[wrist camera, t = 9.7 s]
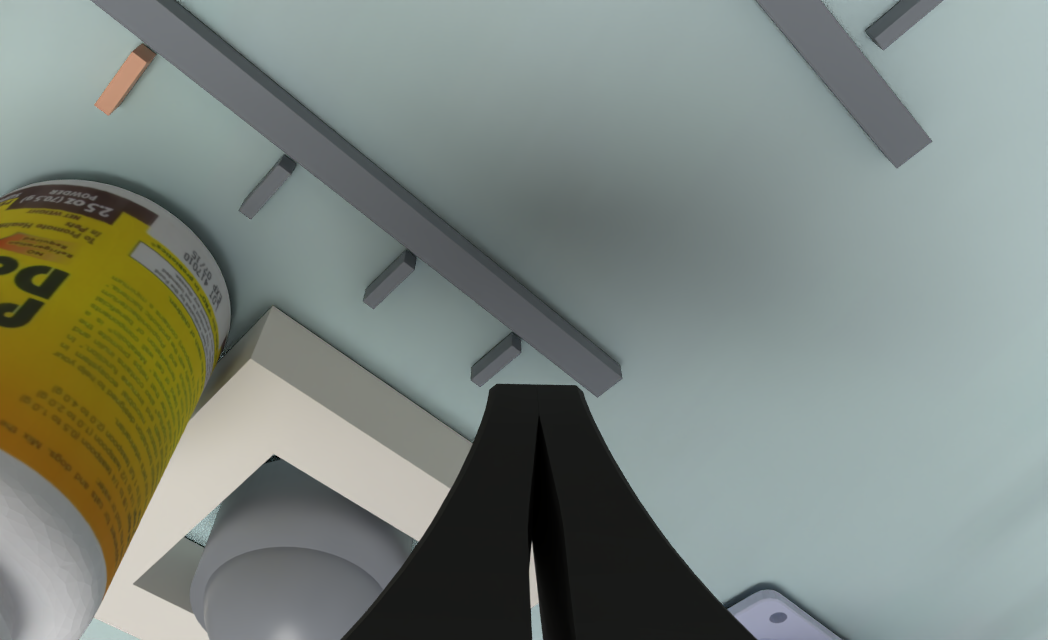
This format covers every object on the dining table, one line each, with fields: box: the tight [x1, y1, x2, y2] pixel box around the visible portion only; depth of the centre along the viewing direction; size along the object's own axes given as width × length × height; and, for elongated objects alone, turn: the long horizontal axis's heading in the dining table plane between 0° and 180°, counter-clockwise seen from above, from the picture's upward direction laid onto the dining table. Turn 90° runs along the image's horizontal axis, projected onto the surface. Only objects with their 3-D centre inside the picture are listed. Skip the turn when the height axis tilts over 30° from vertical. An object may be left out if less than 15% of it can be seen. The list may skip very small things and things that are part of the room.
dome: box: [190, 459, 413, 640], centre depth 21 cm, size 5×5×5 cm
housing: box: [94, 306, 539, 640], centre depth 22 cm, size 10×10×2 cm
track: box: [91, 0, 943, 398], centre depth 15 cm, size 16×12×1 cm
